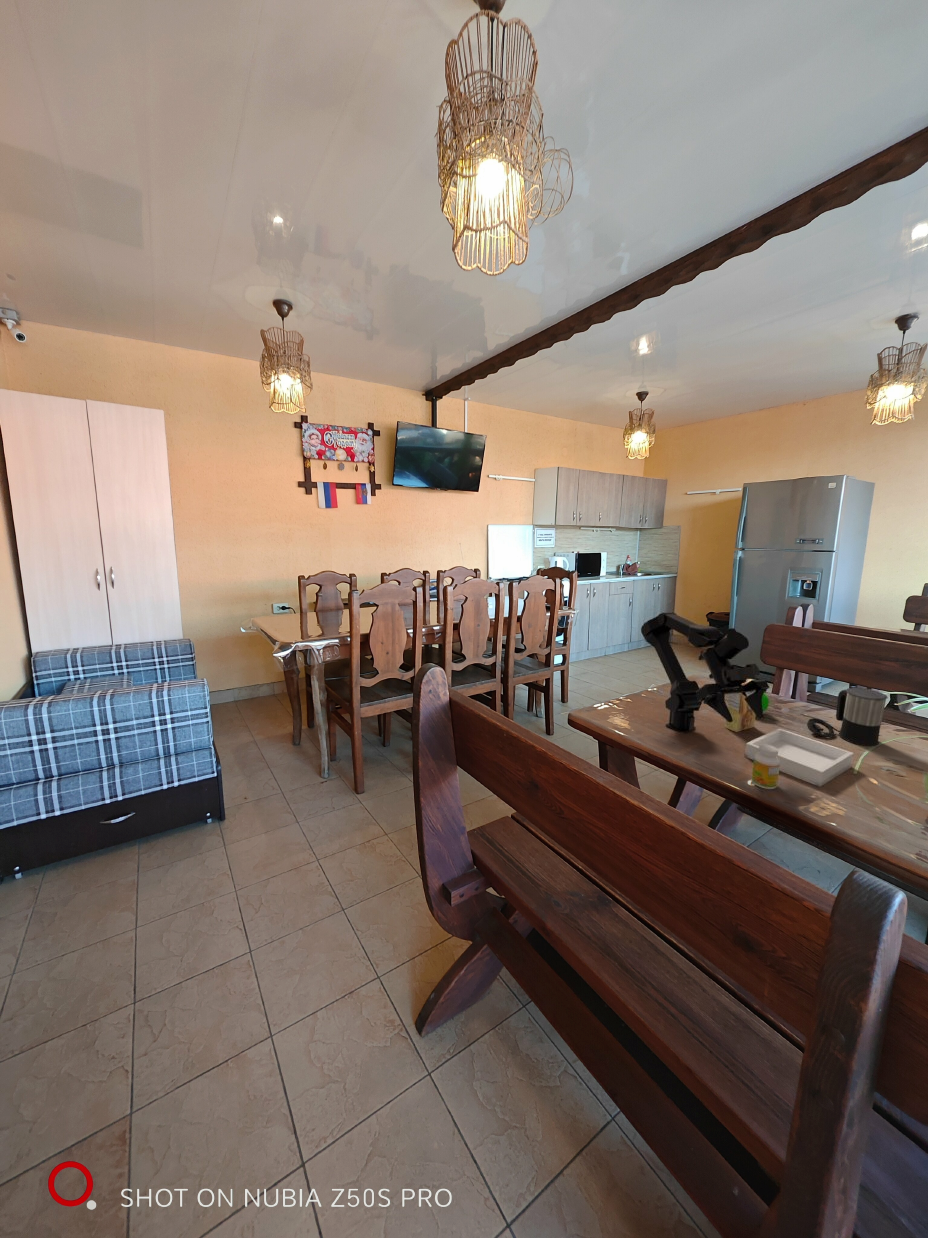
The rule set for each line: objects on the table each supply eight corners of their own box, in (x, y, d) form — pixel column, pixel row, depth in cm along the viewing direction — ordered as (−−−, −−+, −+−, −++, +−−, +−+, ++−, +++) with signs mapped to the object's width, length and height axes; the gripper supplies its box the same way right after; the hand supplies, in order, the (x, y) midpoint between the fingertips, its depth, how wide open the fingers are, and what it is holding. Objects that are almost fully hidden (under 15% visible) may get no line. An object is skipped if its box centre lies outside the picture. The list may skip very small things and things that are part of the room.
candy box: (742, 722, 149) (747, 677, 146) (755, 727, 146) (760, 681, 143) (724, 727, 146) (729, 682, 143) (737, 733, 142) (742, 686, 139)
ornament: (747, 706, 162) (750, 679, 160) (772, 713, 156) (775, 685, 154) (735, 711, 158) (738, 684, 156) (760, 719, 151) (764, 690, 149)
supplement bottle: (746, 778, 116) (750, 743, 114) (766, 777, 117) (770, 742, 115) (761, 790, 111) (766, 753, 109) (782, 789, 111) (787, 752, 109)
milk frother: (887, 745, 133) (896, 697, 130) (844, 751, 130) (852, 701, 127) (839, 724, 147) (846, 681, 144) (798, 729, 143) (804, 685, 141)
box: (744, 756, 127) (746, 743, 126) (777, 740, 136) (779, 728, 135) (819, 787, 112) (822, 772, 111) (851, 767, 121) (853, 753, 120)
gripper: (707, 655, 119) (734, 712, 111) (768, 651, 122) (799, 705, 114) (684, 674, 128) (708, 727, 120) (742, 669, 132) (769, 721, 123)
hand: (746, 720), depth 119 cm, fingers open, 9 cm apart
